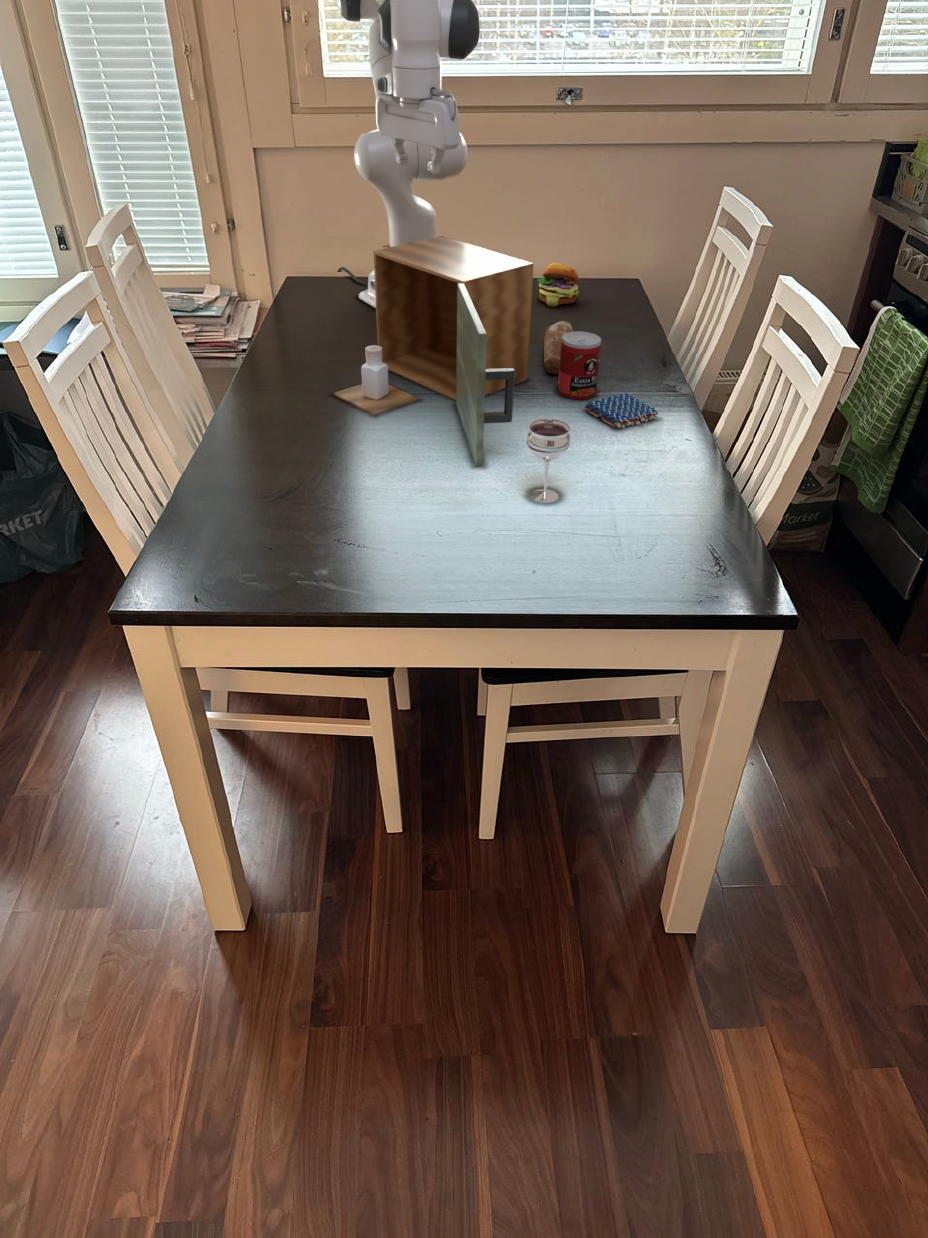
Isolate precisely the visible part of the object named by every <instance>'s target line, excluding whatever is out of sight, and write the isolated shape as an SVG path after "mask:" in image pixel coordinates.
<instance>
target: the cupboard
mask: <svg viewBox="0 0 928 1238" xmlns="http://www.w3.org/2000/svg"><path fill="white" fill-rule="evenodd" d="M372 251H373V270H374V274H375V297H376V308H375V316H376V318H375V321H376V341H377V346H380V347H382V362H383V363H385V364H386V365H387V366H388V371H390V372H392V373H394V374H397V375H400V376H402V377H404V378H406V379H408V380H410V381H413V382H415V383H417V384H419V385H421V386H424V387H426V388H428V389H430V390H432V391H435V392H436V393H439V394H441V395H443V396H446V397H448V398H450V399H452V400H455V401H456V383H457V284H461V283H464V285H465V287H466V289H467V292H468V294H469V296H470V298H471V301H472V303H473V305H474V307H475V309H476V312H477V314H478V316H479V318H480V321H481V323H482V325H483V327H484V329H485V332H486V334H487V335H486V369H499V368H513V369H514V370H515V371H514V385H516V384H520V383H522V382H525V381H527V380H528V369H529V368H528V367H529V353H530V351H529V349H530V335H531V334H530V333H531V332H530V331H531V317H532V316H531V315H532V313H531V312H532V300H533V299H532V298H533V297H532V295H533V280H534V263H533V262H530V261H527V260H525V259H522V258H521V259H520V258H518V257H515V256H511V255H507V254H505V253H502V252H499V251H498V252H497V251H494V250H491V249H488V248H484V247H481V246H478V245H474V244H471V243H467V242H464V241H461V240H457V239H454V238H451V237H448V236H444V235H438V236H436V237H434V238H430V239H425V240H421V241H416V242H412V243H407V244H403V245H398V246H394V247H389V248H387V247H384V248H381V249H375V250H372ZM505 381H506V379H504V380H485V396H487V395H488V394H489V395H490V394H493V393H495V392H498V391H500V390H502V389H505Z"/></svg>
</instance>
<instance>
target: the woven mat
mask: <svg viewBox="0 0 928 1238" xmlns="http://www.w3.org/2000/svg"><path fill="white" fill-rule="evenodd" d="M584 408H585V410H586V411H587V413H589V414H590V415H592V416H594V417H595V418H600V419H601V420H602V421H603V422H604V423H606V424H608V425H609V426H612V427H613V428H617V429H620V428H622V429H625V428H626V427H627V426H630V425H631V426H634V425H637V426H640V425H641V422H645V423H648V421H649V420H650V421H651V420H655V421H656V420H658V416H657V415H659V412H658V410H656V409H655V407H651V406H650V405H649V404H646V403H644V401H640V400H639V399H638V398H635V397H634V396H633V395H628V392H625V393H619V394H616V395H612V396H608V397H607V398H606V397H605V398H603V397H602V398H600V399H596V400H592V401H591V400H590V401H589V402H588V403H585V405H584Z"/></svg>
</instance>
